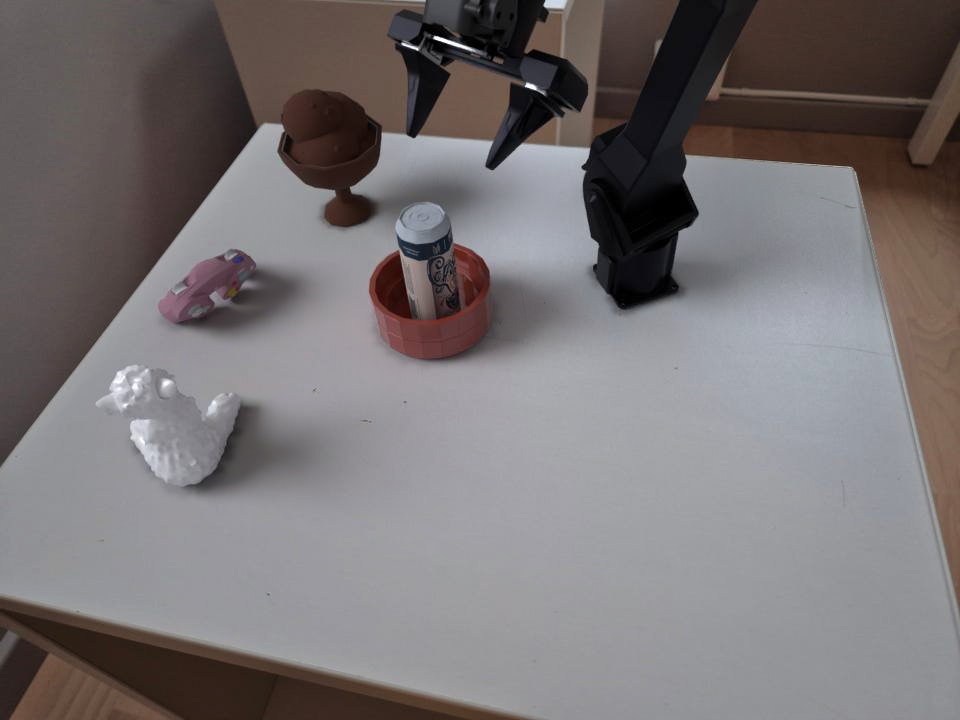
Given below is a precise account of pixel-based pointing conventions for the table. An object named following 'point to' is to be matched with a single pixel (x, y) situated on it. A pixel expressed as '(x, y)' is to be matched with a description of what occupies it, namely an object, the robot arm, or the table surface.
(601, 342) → the table surface
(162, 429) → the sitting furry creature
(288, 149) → the ice cream bowl
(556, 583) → the table surface
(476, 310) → the red bowl
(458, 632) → the table surface
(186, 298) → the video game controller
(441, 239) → the beer can
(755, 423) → the table surface
